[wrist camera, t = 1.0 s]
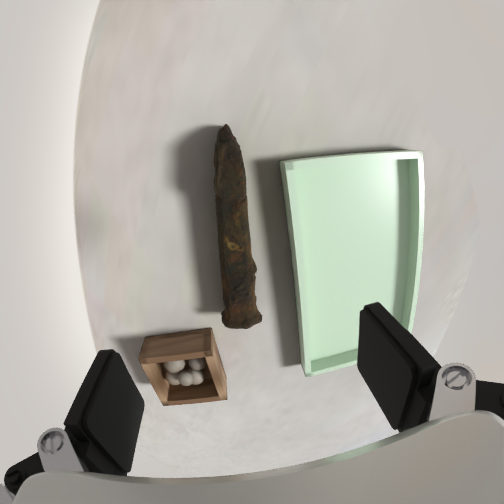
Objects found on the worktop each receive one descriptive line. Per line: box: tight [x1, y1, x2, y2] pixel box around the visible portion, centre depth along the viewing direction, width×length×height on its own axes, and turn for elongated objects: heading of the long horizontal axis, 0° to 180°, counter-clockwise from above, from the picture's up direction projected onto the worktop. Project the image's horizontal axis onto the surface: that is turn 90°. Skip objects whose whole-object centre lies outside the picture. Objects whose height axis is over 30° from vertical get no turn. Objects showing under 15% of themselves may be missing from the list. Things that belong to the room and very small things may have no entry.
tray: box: [279, 150, 424, 377], centre depth 29 cm, size 25×15×2 cm, turn 9°
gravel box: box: [138, 328, 227, 406], centre depth 31 cm, size 8×8×4 cm
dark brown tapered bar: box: [214, 124, 262, 329], centre depth 26 cm, size 19×4×5 cm, turn 1°
